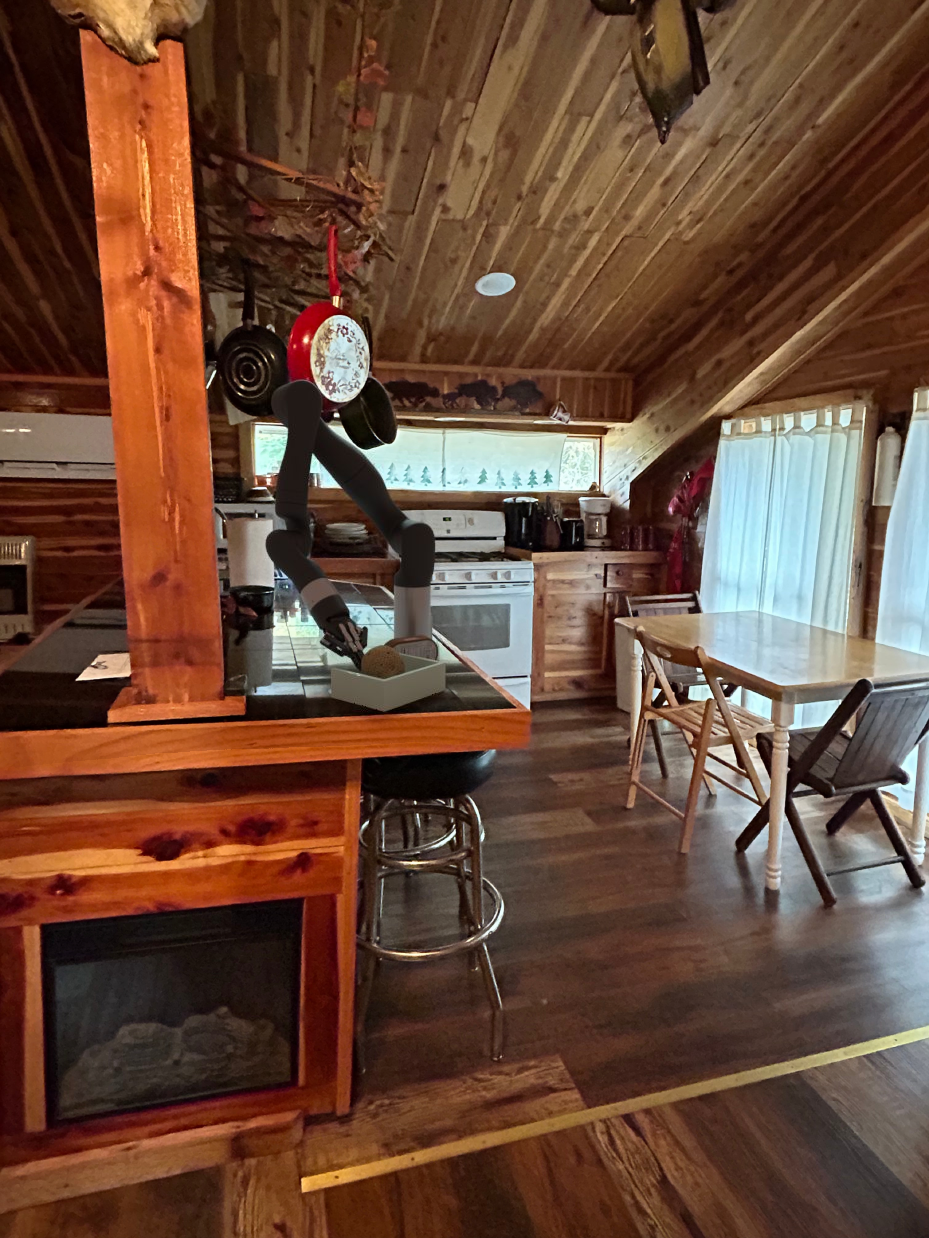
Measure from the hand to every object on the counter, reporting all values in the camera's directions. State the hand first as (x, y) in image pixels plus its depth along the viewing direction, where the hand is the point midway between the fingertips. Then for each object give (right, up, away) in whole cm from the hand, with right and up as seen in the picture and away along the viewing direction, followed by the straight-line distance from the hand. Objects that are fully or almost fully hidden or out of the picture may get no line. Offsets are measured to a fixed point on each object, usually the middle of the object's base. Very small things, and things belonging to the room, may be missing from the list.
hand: (365, 668), depth 159 cm
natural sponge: (+4, -5, -2) cm, 7 cm away
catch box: (+5, -5, -3) cm, 8 cm away
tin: (+8, -2, +14) cm, 16 cm away
